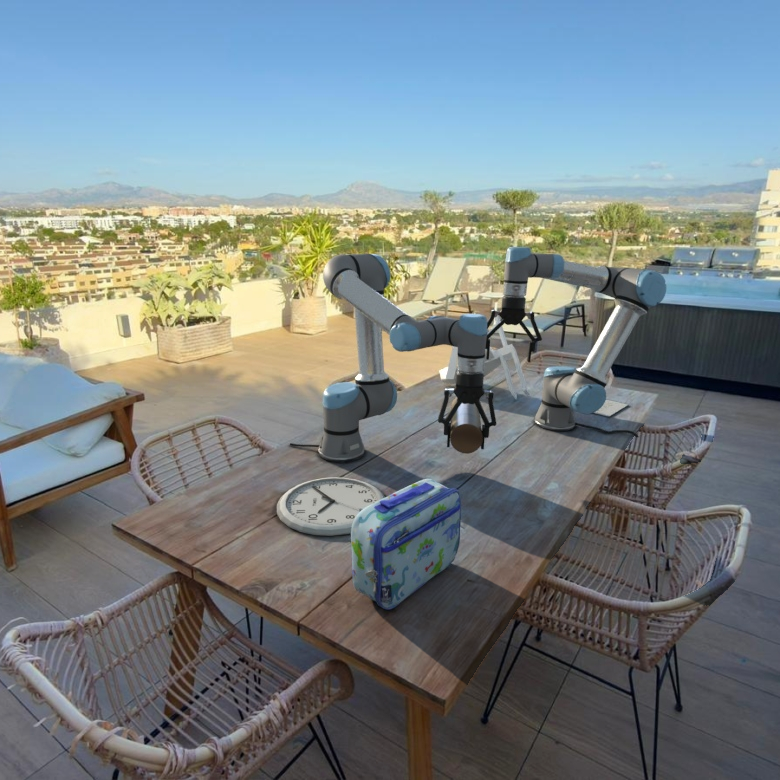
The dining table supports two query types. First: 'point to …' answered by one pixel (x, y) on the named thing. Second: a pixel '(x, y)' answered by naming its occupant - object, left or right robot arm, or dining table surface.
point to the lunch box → (405, 541)
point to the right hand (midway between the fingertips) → (507, 359)
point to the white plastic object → (490, 364)
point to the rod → (466, 428)
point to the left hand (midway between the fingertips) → (465, 446)
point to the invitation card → (610, 408)
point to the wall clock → (326, 505)
